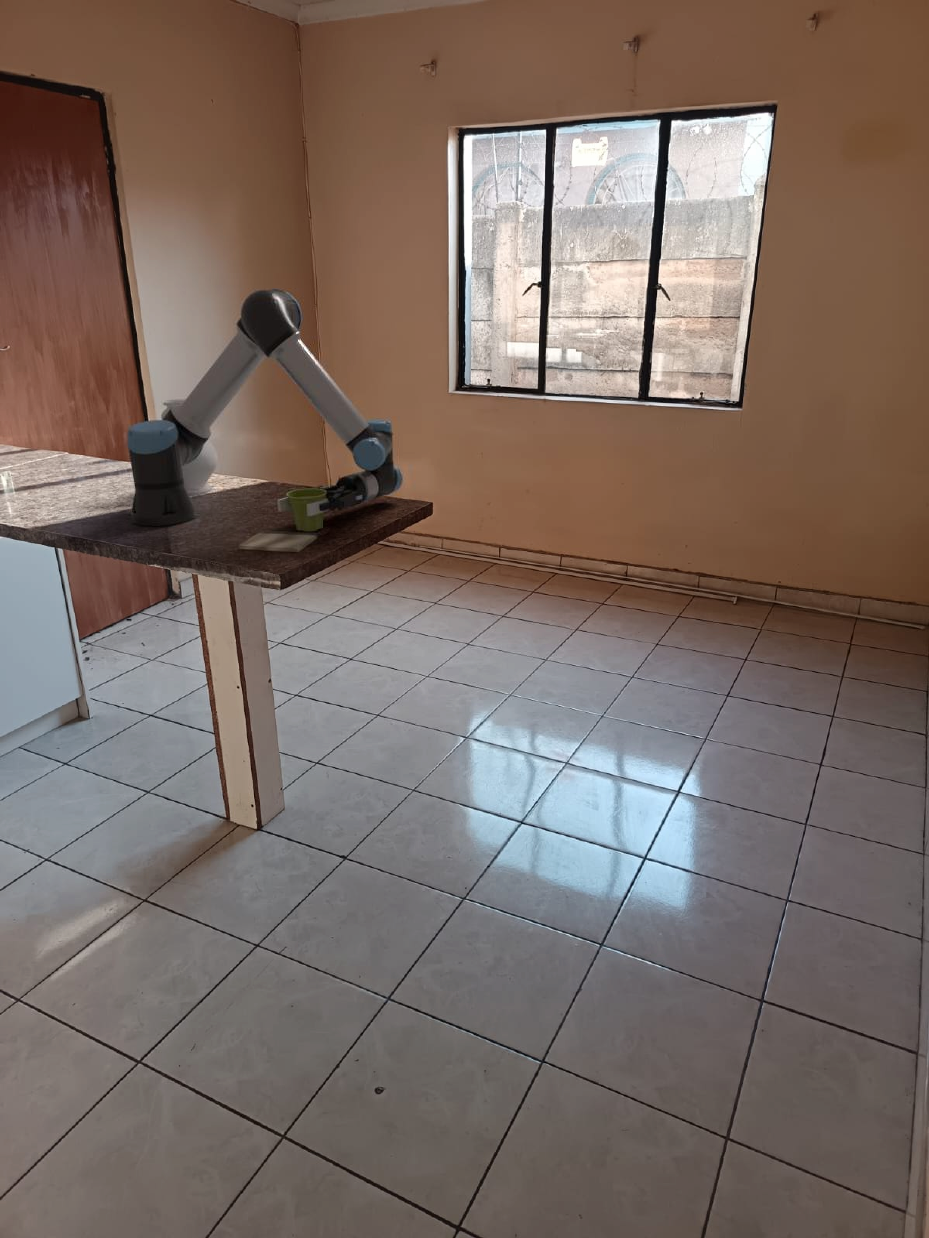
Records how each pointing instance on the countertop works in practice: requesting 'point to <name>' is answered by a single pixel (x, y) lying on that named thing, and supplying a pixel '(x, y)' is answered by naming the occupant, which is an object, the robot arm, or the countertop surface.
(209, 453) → the decorative vase
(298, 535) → the board
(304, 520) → the plant pot
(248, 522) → the countertop surface
